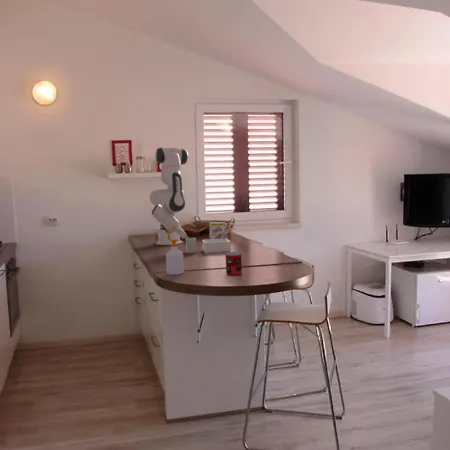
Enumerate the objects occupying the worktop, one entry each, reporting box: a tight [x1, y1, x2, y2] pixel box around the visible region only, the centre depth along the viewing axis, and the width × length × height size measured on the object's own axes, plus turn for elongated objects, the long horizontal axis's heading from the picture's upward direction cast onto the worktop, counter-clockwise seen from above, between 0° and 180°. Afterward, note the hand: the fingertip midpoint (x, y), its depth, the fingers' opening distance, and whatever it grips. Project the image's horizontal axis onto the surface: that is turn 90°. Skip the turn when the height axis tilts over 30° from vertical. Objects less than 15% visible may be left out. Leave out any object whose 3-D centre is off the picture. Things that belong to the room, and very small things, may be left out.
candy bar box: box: [208, 221, 227, 239], centre depth 373 cm, size 11×5×16 cm, turn 84°
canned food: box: [225, 251, 243, 277], centre depth 283 cm, size 8×8×11 cm
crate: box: [201, 237, 232, 255], centre depth 356 cm, size 14×16×7 cm
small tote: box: [185, 237, 198, 255], centre depth 354 cm, size 6×6×9 cm
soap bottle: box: [165, 226, 185, 276], centre depth 291 cm, size 9×9×25 cm
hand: (189, 239), depth 353 cm, fingers open, 8 cm apart
